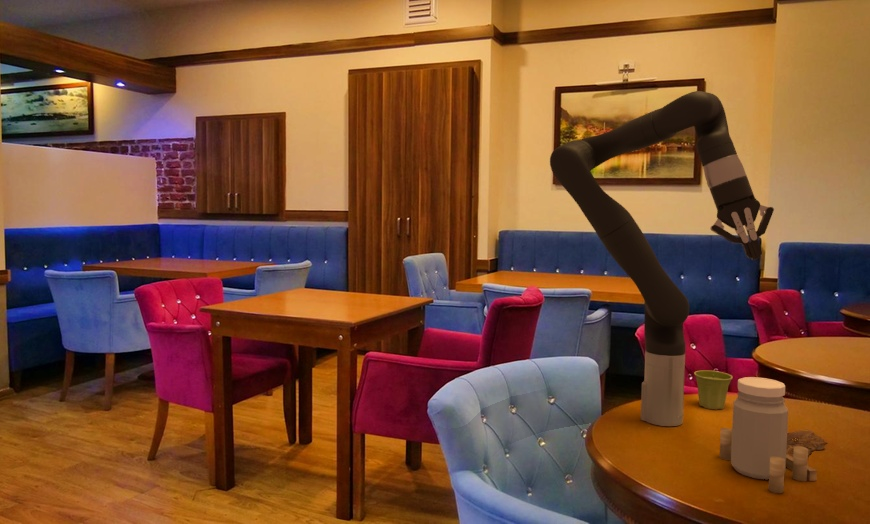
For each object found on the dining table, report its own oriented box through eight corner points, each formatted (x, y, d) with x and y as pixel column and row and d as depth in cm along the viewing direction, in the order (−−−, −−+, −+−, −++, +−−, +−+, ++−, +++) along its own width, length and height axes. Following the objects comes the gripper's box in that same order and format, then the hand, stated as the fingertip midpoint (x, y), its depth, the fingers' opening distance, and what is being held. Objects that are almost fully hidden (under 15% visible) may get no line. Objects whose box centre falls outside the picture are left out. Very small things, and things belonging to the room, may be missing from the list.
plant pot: (731, 404, 172) (732, 372, 171) (731, 413, 163) (732, 380, 163) (693, 399, 176) (695, 368, 175) (692, 409, 167) (693, 376, 167)
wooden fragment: (800, 467, 129) (800, 462, 129) (744, 452, 137) (744, 447, 137) (841, 439, 146) (841, 434, 146) (789, 427, 154) (789, 423, 154)
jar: (760, 484, 120) (765, 390, 119) (719, 466, 129) (722, 378, 128) (796, 476, 124) (801, 385, 122) (753, 459, 133) (757, 374, 131)
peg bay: (774, 493, 116) (775, 461, 116) (717, 456, 134) (718, 428, 134) (833, 490, 117) (835, 459, 117) (769, 453, 136) (770, 426, 135)
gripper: (696, 189, 132) (725, 269, 131) (763, 167, 129) (794, 248, 127) (693, 193, 139) (720, 268, 138) (756, 172, 136) (785, 249, 134)
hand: (756, 258), depth 132 cm, fingers closed
